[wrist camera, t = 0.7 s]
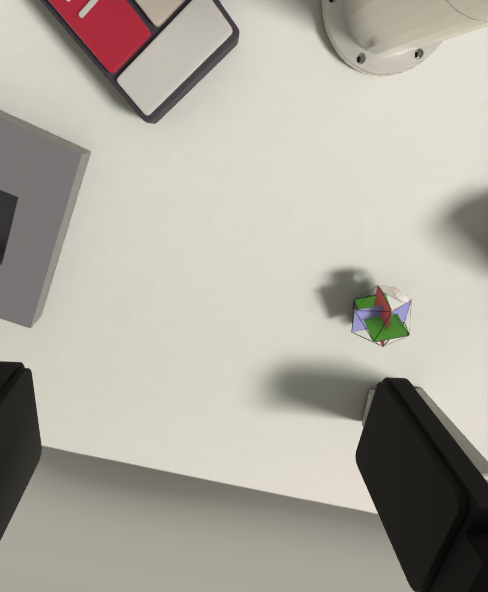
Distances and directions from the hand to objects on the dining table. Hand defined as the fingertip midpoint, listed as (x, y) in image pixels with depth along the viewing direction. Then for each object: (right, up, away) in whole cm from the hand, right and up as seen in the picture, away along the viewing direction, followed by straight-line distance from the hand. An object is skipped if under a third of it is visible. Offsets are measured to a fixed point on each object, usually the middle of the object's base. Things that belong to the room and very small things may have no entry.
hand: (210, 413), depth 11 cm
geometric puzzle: (+17, +2, +38) cm, 42 cm away
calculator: (-9, +29, +24) cm, 38 cm away
